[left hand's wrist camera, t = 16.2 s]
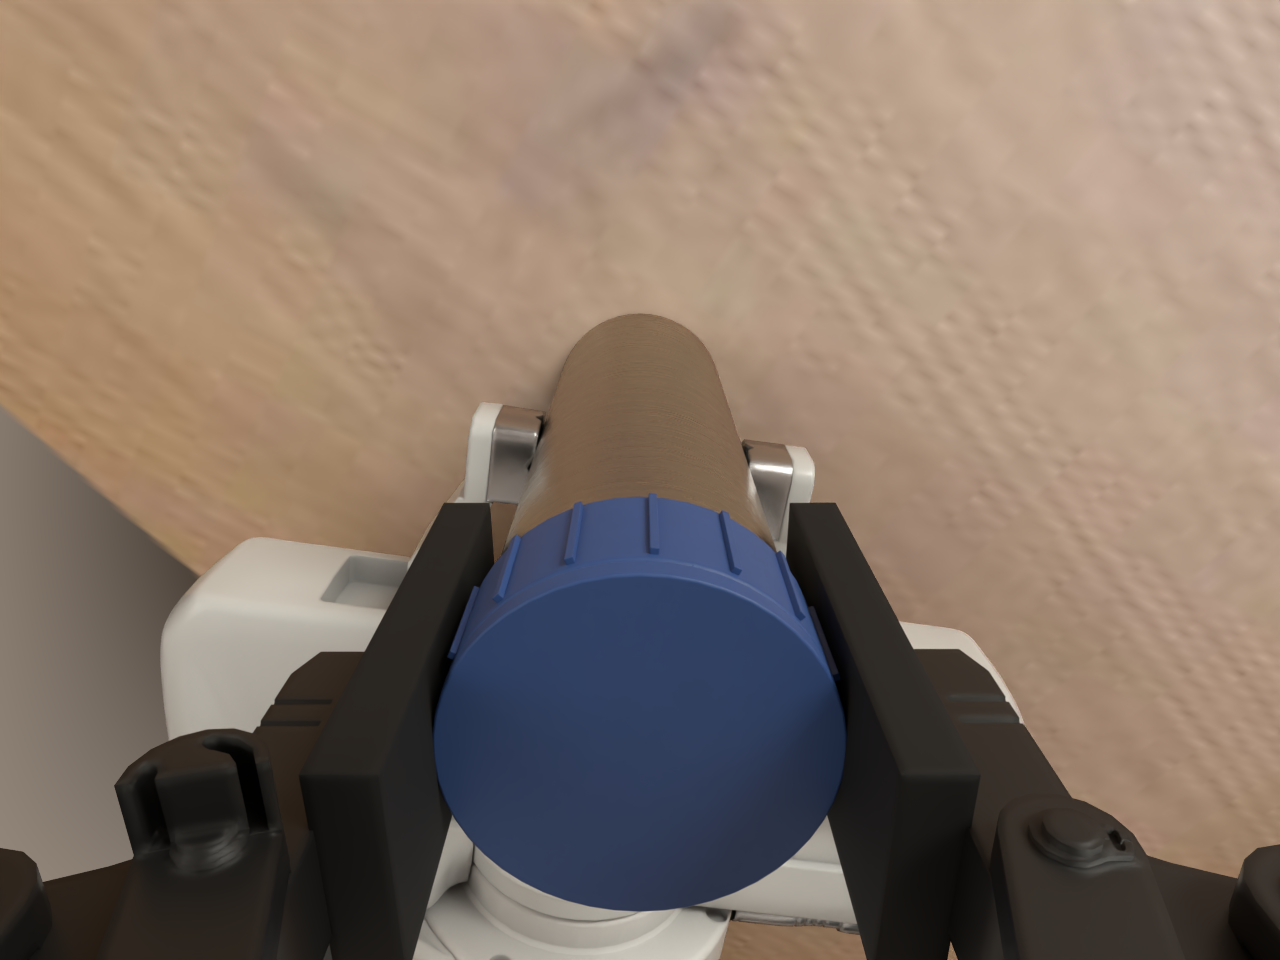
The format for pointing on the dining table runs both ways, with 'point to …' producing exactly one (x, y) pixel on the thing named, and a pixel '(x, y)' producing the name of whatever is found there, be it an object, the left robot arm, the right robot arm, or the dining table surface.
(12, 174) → the dining table surface
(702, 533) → the lid
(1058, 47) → the dining table surface
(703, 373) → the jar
